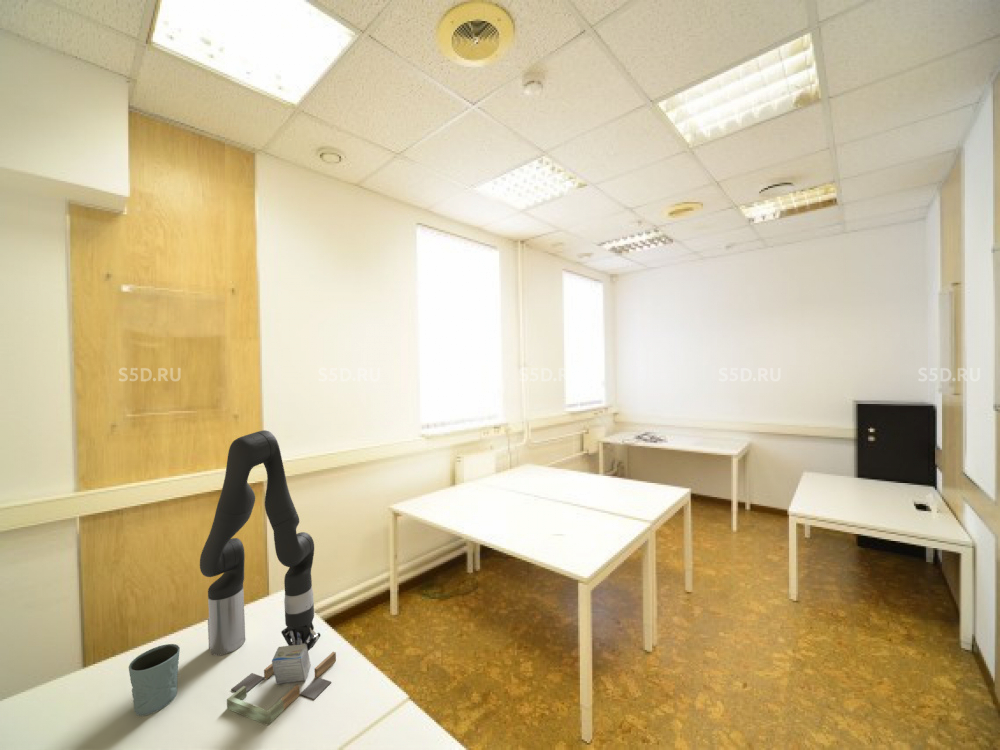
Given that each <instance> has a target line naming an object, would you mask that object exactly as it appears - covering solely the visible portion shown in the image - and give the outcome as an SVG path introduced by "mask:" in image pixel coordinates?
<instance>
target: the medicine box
mask: <svg viewBox="0 0 1000 750" xmlns="http://www.w3.org/2000/svg"><path fill="white" fill-rule="evenodd" d="M271 664H272V665H273V669H274V674H273V675H274V678H275V682H276V685H279V684H287V683H294V682H303V681H307V679H308V674H309V672H310V669H311V666H312V665H311V661H310V655H309V651H308V648H307V644H302V645H292V646H289V645H283V646H278V647H277V648H276V652H275V653H274V655H273V658H272V659H271Z"/></svg>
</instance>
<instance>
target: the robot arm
mask: <svg viewBox="0 0 1000 750" xmlns="http://www.w3.org/2000/svg"><path fill="white" fill-rule="evenodd" d="M282 458H283V457H282V454H281V449H280V445H279V443H278V440H277V437H275V435H274V434H273V432H271V431H269V430H264V429H263V430H258V431H256V432H251V433H249V434H247V435H246V434H245V435H243V436H240V437H237V438H235V439H234V440H233V441H232V442H231V444H230V446H229V449H228V453H227V460H226V467H225V468H226V469H225V474H224V480H223V484H222V489H221V492H220V496H219V499H218V501H217V506H216V508H215V514H214V516H213V521H212V525H211V528H210V531H209V533H208V536H207V539H206V541H205V543H204V546H203V548H202V550H201V554H200V558H199V569H200V572H201V574H202V575H203V576H204V577H207V578H212V577H217V576H219V575H221V576H220V577H218V579H216V580H215V581H214V582H213V583H212V584H210V586H209V587H208V589H207V600H208V601H207V602H208V604H207V605H208V618H207V633H208V639H207V640H208V648H209V649H210V654H211V655H213V656H222V655H227V654H230V653H232V652H234V651H235V650H238V649H239V648H240V647H241V646H243V645H244V643H245V641H246V626H245V625H246V622H245V617H246V616H245V596H244V595H245V593H244V592H245V591H244V582H245V558H246V555H245V547H244V544H243V542H242V540H241V539H239V538H238V537H234V536H235V535H236V534H237V533H238V532H240V530H241V529H242V528H244V527H245V524H247V522H248V521H249V520H250V517H251V515H252V512H253V508H254V506H255V503H256V494H255V492H254V490H253V488H252V487H251V486H250V484H249V483H248V480H249V476H250V473H251V470H252V469H254V468H255V467H257V466H259V465H261V464H262V465H263V467H264V468H265V470H266V476H267V477H266V479H267V480H266V483H267V484H266V488H265V489H266V490H265V496H264V510H265V514H266V517H267V518H268V521H269V524H270V526H271V528H272V531H273V541H274V542H273V543H274V549H275V555H276V558H277V560H278V561H279V563H281V565H283V566H285V567H287V568H288V570H287V571H286V573H285V575H284V581H283V582H284V583H283V584H284V601H283V602H284V603H283V604H284V618H285V619H284V621H285V626H286V627H285V628H284V629H283V630H281V631H280V632H281V635H282V636H283V638H284V640H285V643H286V644H287V646H292V645H302V644H307V648H308V652H309V651H310V650H311V649H312V648H314V646H315V645H316V643H317V642H318V640H319V639H320V637H321V635H322V634H321V633H320V632H317V633H316V632H315V627H314V624H313V620H314V617H315V603H314V601H315V600H314V591H313V583H312V581H313V580H312V566H313V563H314V562H313V561H314V554H315V542H314V540H313V539H314V538H313V537H312V536H311V534H309V533H308V532H303V531H301V532H297V528H298V526H299V524H300V517H299V514H298V512H297V508H296V507H295V504H294V502H293V499H292V497H291V494H290V490H289V486H288V482H287V478H286V474H285V473H286V471H285V467H284V463H283V459H282Z"/></svg>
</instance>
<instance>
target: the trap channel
mask: <svg viewBox="0 0 1000 750" xmlns="http://www.w3.org/2000/svg"><path fill="white" fill-rule="evenodd" d="M336 661H337V652H335V651H332V652H331V653H330V654H329V655H328V656H327V657H326V658H324V659H323V660H322V661H320V663H319V664H318V665H316V666H315V667H314V678H315V679H314V680H313V681H312V682H310V683H309V684H308V685H307V686H306V687H305V688H304V689H303V690H302V691H301V690H300V687H301V686H300V685H299V684H296V685H294V686H293V687H292V688H291V690H289V691H288V692H287V693H286V694H285V695H284V696H282V697H281V698H280V699H279V700H278V701H277V702H276V703H275V704H274V705H272V707H271V708H269V709H268V710H266V709H264V708H262V707H260V706H257V705H254V704H251V703H249V702H246V701H244V698H245V699H246V697H247V696H248V695H247V693H248V692H250V691H251V690H252V689H253V688H254V687H256V686H257V685H258V684H260V683H261V682H262V681H263V680H268V679H270V678H271V676H273V675H275V674H274V669H273V665H272V663H271V664H269V665H268V666H266V668H264V670H263V673H264V674H263V675H264V676H262V675H259V674H256V673H253V672H251V673H250V674H248V675H247V676H246V677H244V678H243V679H242V680H241V681H239V682H238V683H237V684H235V686H232V688H231V689H230V690H231V691H233V692H234V693H232V694H231V695H230V696H229V697H228V698H226V709H227V710H229V711H232V712H235V713H237V714H238V715H241V716H243V717H246V718H249V719H251V720H253V721H256V722H259V723H260V724H263V725H265V726H269V725H270V723H272V722H273V721H274V720H275V719H276V718H277V717H278V716H279V715H280V714H281V713H283V711H284V710H286V709H287V708H288V707H289V706H290V705H291V704H292V703H293V702H294V701H295V700H296V699H297V698H298V697H299V696H302V697H304V698H308V699H311V700H314V701H315V699H318V697H319V695H321V694H322V693H323V692H324V690H326V689H327V688H328V687H329V686H330V684H332V681H330V680H327V679H325V678H321V676H322V675H323V674H324V672H326V671H327V670H328V669H329V668H330V667H331V666H332V665H333V664H334V663H335V662H336Z"/></svg>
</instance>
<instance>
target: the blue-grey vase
mask: <svg viewBox="0 0 1000 750" xmlns="http://www.w3.org/2000/svg"><path fill="white" fill-rule="evenodd" d="M180 651H181V650H180V645H178V644H175V643H168V644H163V645H159V646H156V647H153V648H151V649H148V650H147V651H145V652H143V653H141V654H138V656H136V657H135V658H133V660H132V661H131V662H130V663H129V665H128V672H129V677H130V683H131V687H132V688H131V695H132V698H133V700H132V701H133V711H134V714H135V713H136V714H135V715H137V716H140V717H141V716H147V715H151V714H154V713H156V712H159V711H160V710H162V709H164V708H165V707H167V706H168V705H170V703H172V702H173V701H174V700H175V698H176V696H177V693H178V675H179V674H178V673H179V659H180V653H181V652H180Z"/></svg>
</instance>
